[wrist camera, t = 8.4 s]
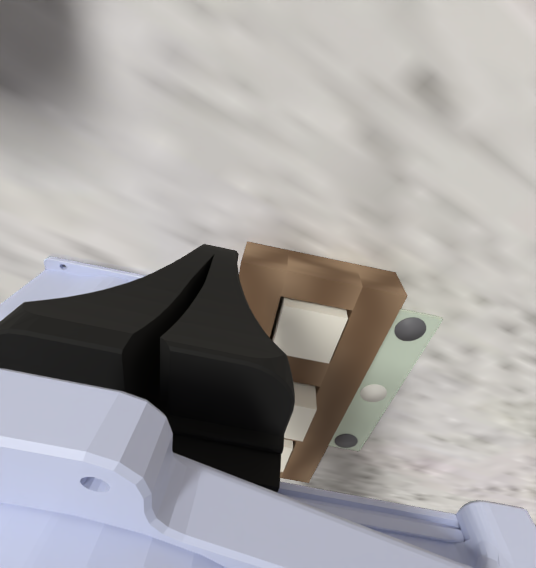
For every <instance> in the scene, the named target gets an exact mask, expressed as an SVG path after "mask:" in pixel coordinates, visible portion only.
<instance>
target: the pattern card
mask: <svg viewBox="0 0 536 568" xmlns="http://www.w3.org/2000/svg"><path fill="white" fill-rule="evenodd" d="M442 321H443V319H442V317H437V316H432V315H428V314H423V313H418V312H413V311H408V310H403V309H400V311H399V313H398V315H397V317H396V319H395V320H394V322H393V324H392V326H391V328H390V330H389V332H388V334H387V336H386V337H385V339H384V341H383V343H382V345H381V347H380V349H379V351H378V353H377V354H376V356H375V358H374V360H373V362H372V364H371V366H370V368H369V370H368V371H367V373H366V375H365V377H364V379H363V381H362V383H361V385H360V387H359V388H358V390H357V392H356V394H355V396H354V398H353V400H352V402H351V404H350V406H349V407H348V409H347V411H346V413H345V415H344V417H343V419H342V421H341V423H340V424H339V426H338V428H337V430H336V432H335V434H334V436H333V438H332V440H331V441H330V443H329V445H328V446H332V447H338V448H343V449H349V450H354V451H360V450H361V448H362V446H363V445H364V443H365V442H366V440H367V439H368V437H369V435H370V434H371V432H372V431H373V429H374V428H375V426H376V424H377V423H378V421H379V420H380V418H381V417H382V415H383V413H384V412H385V410H386V409H387V407H388V406H389V404H390V402H391V401H392V399H393V398H394V396H395V395H396V393H397V391H398V390H399V388H400V387H401V385H402V383H403V382H404V380H405V379H406V377H407V376H408V374H409V372H410V371H411V369H412V368H413V366H414V365H415V363H416V361H417V360H418V358H419V357H420V355H421V354H422V352H423V350H424V349H425V347H426V346H427V344H428V343H429V341H430V339H431V338H432V336H433V335H434V333H435V332H436V330H437V328H438V327H439V325H440V324H441V322H442Z"/></svg>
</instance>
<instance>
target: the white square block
mask: <svg viewBox="0 0 536 568" xmlns="http://www.w3.org/2000/svg"><path fill="white" fill-rule="evenodd" d="M347 320H348V316H347V311H346V309H342V308H337V307H332V306H327V305H322V304H317V303H312V302H307V301H302V300H297V299H292V298H287V297H282V296H281V298H280V301H279V305H278V309H277V313H276V317H275V320H274V325H273V336H272V341H273V342H274V343H275V344H276V345H277V346H278V347H279V348H280V349H281V350H282V351H283V352H284V353H285V354H286V355H287V356H292V357H298V358H303V359H308V360H313V361H318V362H323V363H328V364H329V362H330V360H331V357H332V355H333V353H334V350H335V348H336V346H337V343H338V341H339V339H340V336H341V334H342V332H343V329H344V327H345V324H346V322H347Z"/></svg>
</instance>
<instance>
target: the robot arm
mask: <svg viewBox="0 0 536 568" xmlns="http://www.w3.org/2000/svg"><path fill="white" fill-rule="evenodd" d="M237 261H238V253H237V251H235V250H230V249H225V248H221V247H216V246H211V245H206V244H203V245H202V246H200V247H198V248H197V249H195V250H193V251H192V252H190V253H189V254H187V255H185V256H184V257H182V258H180V259H179V260H177V261H175V262H174V263H172V264H170V265H168V266H166V267H164V268H162V269H160V270H158V271H156V272H154V273H152V274H149V275H147V276H145V275H141V274H136V273H131V272H126V271H121V270H116V269H111V268H106V267H101V266H96V265H91V264H86V263H81V262H76V261H71V260H66V259H61V258H56V257H47V258H46V259H45V260H44V265H45V270H44V271H43V272H42V273H40V274H39V275H38V276H36V277H35V278H34V279H32V280H31V281H30V282H29V283H27V284H26V285H25V286H23V287H22V288H21V289H19V290H18V291H17V292H15V293H14V294H13V295H11V296H10V297H9V298H8V299H6V300H5V301H4V302H2V303H1V304H0V568H536V526H535V525H534V523H533V521H532V519H531V517H530V515H529V513H528V511H527V510H526V509H524V508H521V507H516V506H511V505H505V504H500V503H495V502H489V501H481V500H477V501H471V502H469V503H467V504H465V505H464V506H462V507H461V508H460V510H459V511H458V512H457V514H453V513H447V512H442V511H436V510H431V509H426V508H420V507H415V506H409V505H404V504H398V503H393V502H388V501H382V500H377V499H371V498H366V497H361V496H355V495H350V494H344V493H339V492H333V491H328V490H323V489H317V488H312V487H306V486H301V485H296V484H290V483H285V482H280V469H281V454H282V452H283V448H284V434H285V431H286V428H287V426H288V423H289V421H290V418H291V415H292V413H293V410H294V404H295V392H294V384H293V378H292V373H291V369H290V365H289V361H288V357H287V355H286V354H285V353H284V352H283V351H282V350H281V349H280V348H279V347H278V346H277V345H276V344H275V343H274V342H273V341H272V340H271V339H270V338H269V336H268V335H267V334H266V333H265V331H264V330H263V328H262V327H261V325H260V324H259V322H258V321H257V319H256V318H255V316H254V314H253V313H252V311H251V309H250V307H249V305H248V302H247V300H246V298H245V295H244V292H243V289H242V286H241V282H240V278H239V274H238V267H237ZM63 264H64V265H65V266H66V267H65V266H64V265H63Z"/></svg>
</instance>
